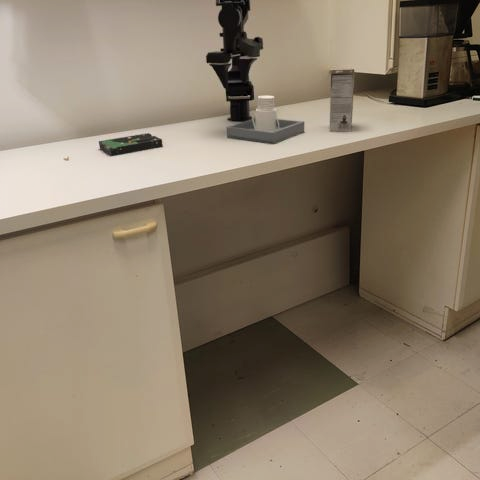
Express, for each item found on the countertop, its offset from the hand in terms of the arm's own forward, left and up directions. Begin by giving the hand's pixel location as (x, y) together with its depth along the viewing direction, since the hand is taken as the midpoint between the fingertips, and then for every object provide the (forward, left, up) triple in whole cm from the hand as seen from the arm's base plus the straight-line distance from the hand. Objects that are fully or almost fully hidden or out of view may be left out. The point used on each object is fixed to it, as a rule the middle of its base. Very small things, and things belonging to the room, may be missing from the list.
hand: (235, 85), depth 142 cm
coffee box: (-15, +27, -13) cm, 34 cm away
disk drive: (+32, -12, -14) cm, 37 cm away
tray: (+2, +12, -13) cm, 18 cm away
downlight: (+2, +12, -12) cm, 17 cm away
